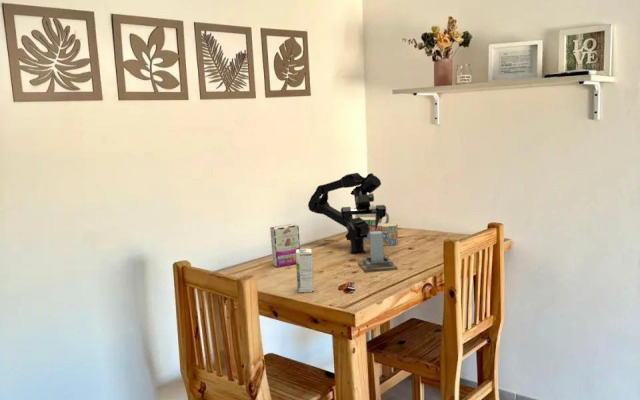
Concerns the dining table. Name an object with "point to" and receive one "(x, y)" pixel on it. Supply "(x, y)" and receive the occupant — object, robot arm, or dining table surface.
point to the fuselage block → (376, 246)
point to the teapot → (373, 215)
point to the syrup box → (304, 270)
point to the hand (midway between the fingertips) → (365, 228)
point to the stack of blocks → (387, 229)
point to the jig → (376, 265)
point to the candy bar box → (284, 244)
